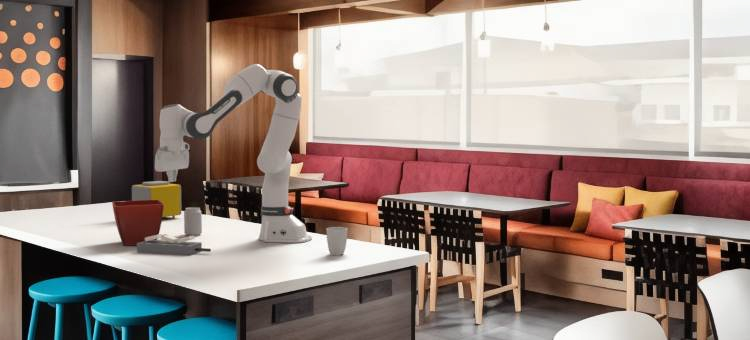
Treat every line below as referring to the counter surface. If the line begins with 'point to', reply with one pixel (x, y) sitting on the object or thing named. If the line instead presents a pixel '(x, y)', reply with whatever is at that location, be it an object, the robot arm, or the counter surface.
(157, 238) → the rocker
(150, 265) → the counter surface
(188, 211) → the can
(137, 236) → the plant pot
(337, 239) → the cup
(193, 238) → the block
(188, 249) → the rocker switch panel
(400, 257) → the counter surface
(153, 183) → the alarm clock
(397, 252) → the counter surface
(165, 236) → the rocker
